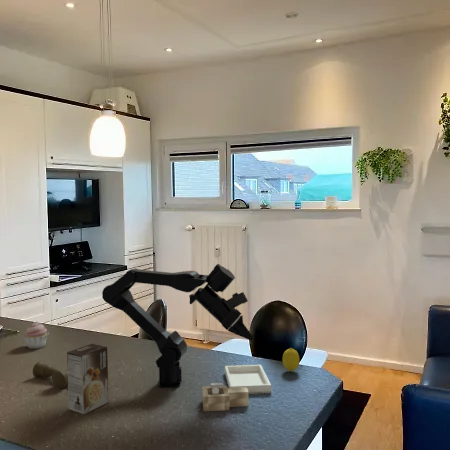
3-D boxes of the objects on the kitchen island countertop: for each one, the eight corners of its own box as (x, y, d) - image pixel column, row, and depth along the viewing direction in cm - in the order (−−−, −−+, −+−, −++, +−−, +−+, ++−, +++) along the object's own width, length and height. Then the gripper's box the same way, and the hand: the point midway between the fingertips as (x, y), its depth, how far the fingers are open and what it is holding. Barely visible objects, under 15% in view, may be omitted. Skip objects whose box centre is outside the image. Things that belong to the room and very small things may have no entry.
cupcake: (43, 350, 178) (43, 324, 178) (19, 350, 178) (18, 324, 178) (53, 343, 188) (52, 318, 187) (29, 342, 188) (29, 318, 187)
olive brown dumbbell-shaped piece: (50, 373, 157) (95, 381, 148) (26, 383, 148) (73, 393, 139) (48, 355, 157) (94, 363, 147) (24, 365, 148) (72, 374, 139)
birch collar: (203, 411, 127) (203, 396, 127) (202, 400, 134) (202, 386, 134) (249, 409, 128) (249, 394, 128) (245, 398, 135) (245, 384, 135)
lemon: (298, 375, 153) (299, 351, 153) (281, 374, 154) (282, 350, 154) (299, 369, 159) (299, 345, 158) (283, 368, 160) (283, 344, 159)
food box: (93, 397, 136) (92, 342, 135) (109, 402, 133) (108, 346, 132) (67, 409, 128) (66, 351, 127) (83, 415, 125) (82, 355, 124)
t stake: (209, 408, 129) (209, 386, 129) (208, 402, 133) (208, 381, 132) (222, 407, 129) (222, 386, 129) (221, 402, 133) (221, 381, 133)
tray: (271, 393, 139) (271, 384, 139) (230, 394, 138) (230, 386, 138) (260, 372, 156) (260, 364, 156) (224, 373, 155) (224, 365, 155)
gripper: (231, 280, 134) (273, 318, 132) (230, 285, 152) (266, 318, 150) (205, 309, 132) (246, 348, 130) (207, 311, 151) (243, 345, 149)
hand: (251, 339), depth 140 cm, fingers open, 9 cm apart
